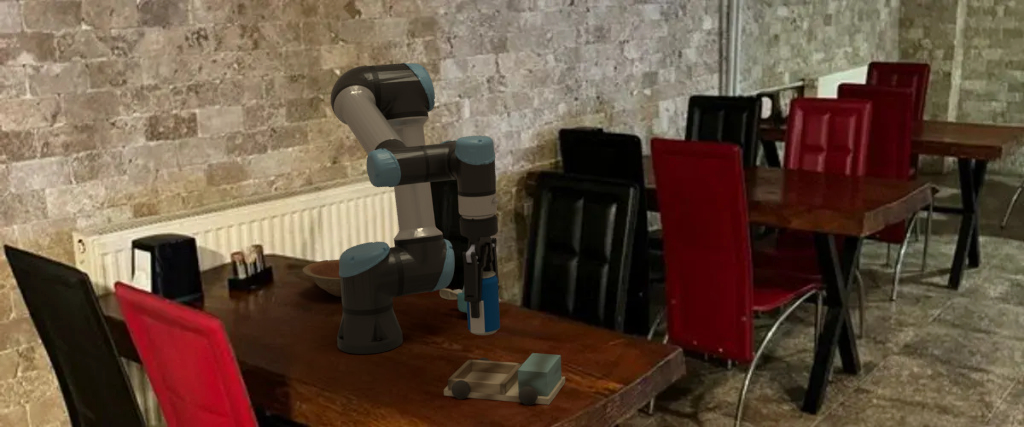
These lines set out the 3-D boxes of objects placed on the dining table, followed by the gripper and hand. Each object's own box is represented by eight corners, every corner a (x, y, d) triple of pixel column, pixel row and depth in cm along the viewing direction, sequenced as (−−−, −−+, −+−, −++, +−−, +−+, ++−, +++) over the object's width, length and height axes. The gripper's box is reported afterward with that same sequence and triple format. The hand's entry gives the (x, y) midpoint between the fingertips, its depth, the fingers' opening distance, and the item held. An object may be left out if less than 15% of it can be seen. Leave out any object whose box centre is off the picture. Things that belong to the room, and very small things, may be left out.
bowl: (385, 304, 265) (383, 275, 263) (296, 307, 265) (293, 278, 264) (396, 280, 288) (394, 253, 286) (314, 283, 289) (312, 256, 287)
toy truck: (441, 397, 199) (440, 368, 198) (467, 372, 213) (465, 344, 211) (547, 407, 192) (546, 376, 191) (566, 380, 206) (565, 351, 205)
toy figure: (515, 314, 251) (512, 257, 248) (487, 325, 243) (484, 266, 240) (466, 304, 262) (463, 249, 259) (438, 314, 254) (435, 257, 251)
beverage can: (467, 327, 204) (464, 270, 202) (499, 325, 205) (496, 268, 202) (468, 337, 198) (465, 279, 195) (501, 335, 198) (498, 276, 196)
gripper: (479, 226, 186) (485, 343, 191) (511, 205, 204) (516, 313, 209) (442, 224, 189) (448, 341, 193) (477, 205, 207) (482, 311, 211)
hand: (483, 326), depth 201 cm, fingers closed on beverage can, 6 cm apart
